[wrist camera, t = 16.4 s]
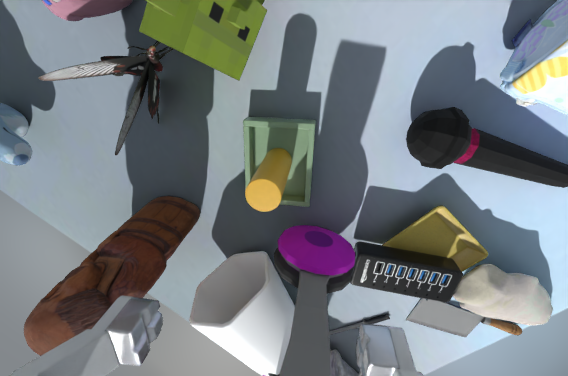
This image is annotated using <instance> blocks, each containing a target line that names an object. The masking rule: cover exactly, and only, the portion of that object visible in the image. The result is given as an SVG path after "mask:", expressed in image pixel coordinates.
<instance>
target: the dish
mask: <svg viewBox="0 0 568 376" xmlns="http://www.w3.org/2000/svg"><path fill="white" fill-rule="evenodd" d="M315 123H316V120H307V119H286V118H264V117H247V118H246V119H245V120H243V125H244V127H243V128H244V157H245V186H246V188H247V186H248V184H249V182H250V181H251V179H252V177H253V176H254V174H255V173H256V171H257V169H258V168H259V166H260V164H261V163H262V161H263V159H264V158H265V156H266V154H267V153H268V152H269V151H270V150H272V149H274V148H282V149H284V150H286V151H287V152H288V153H289V154H290V156H291V158H292V165H291V168H290V172H289V175H288V178H287V182H286V185H285V189H284V192H283V195H282V199H281V202H280V204H279V205H291V206H303V207H309V206H310V194H311V180H312V165H313V151H314V137H315ZM246 202H247V200H246Z"/></svg>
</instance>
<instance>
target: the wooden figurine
mask: <svg viewBox="0 0 568 376" xmlns="http://www.w3.org/2000/svg"><path fill="white" fill-rule="evenodd" d="M199 216H200V210H199V208H198V207H197V206H196V205H195V204H193V203H191V202H188V201H186V200H184V199H182V198H178V197H172V196H162V197H158V198H156V199H154V200H152V201H150V202H149V203H148V204H146V205H145V206H144V207H143V208H142V209H141V210H139V211H138V212H137V213H136V214H135V215H133V216H132V217H131V218H130V219H129V220H128V221H126V222H125V223H124V224H123V225H122V226H121V227H120V228H119V229H118V230H117V231H115V232H113V233H112V234H111V235H110V236H109V237H107V238H106V239H105V240H104V241H103V242H102V243H101V244H100V245H99V246H98V248H97V249H96V250H95V251H94V252H92V253H91V254H90V255H89V256H88V257H87V258H86V259H85V260H84V261H83V262H82V263H81V265H80V266H79V267H77V268H76V269H74V270H72V271H71V272H70V273H69V274H68V275H67V276H66V277H65V279H64V280H63V281H61V282H59V283H58V284H57V285H56V286H55V287H54V288H53V289H52V290H51V291H50V292H49V293H48V294H47V295H46V296H45V297H44V298H43V299H42V300H41V301H40V302H39V303H38V304H37V306H36V307H35V308H34V310H33V311H32V312H31V314H30V315H29V317H28V318H27V320H26V322H25V325H24V336H25V339H26V341H27V344H28V346H29V347H30V348H31V349H32V350H33V351H34V352H36V353H37V354H39V355H40V356H41V355H43V354H45V353H47V352H48V351H50V350H52V349H54V348H55V347H57V346H59V345H61V344H62V343H64V342H66V341H68V340H69V339H71V338H73V337H75V336H76V335H78V334H80V333H82V332H84V331H85V330H87V329H92V328H93V327H94V326H95V324H96V323H97V322H98V321H99V320H100V319H101V317H102V316H103V315H104V314H105V313H106V311H107V310H108V309H109V308H110V307H111V305H112V304H113V303H114V302H115V301H116V300H117V298H119V297H120V296H130V297H138V298H143V297H144V296H145V294H146V293H147V292H148V291H149V290H150V289H151V288H152V286H153V285H154V284H155V282H156V281H157V280H158V279H159V277H160V276H161V275H162V273H163V272H164V270H165V268H166V261H167V260H168V259H169V258H170V257H171V256H172V254H173V253H174V252H175V250H176V249H177V247H178V246H179V245H180V243H181V242H182V241H183V239H184V238H185V237H186V235H187V234H188V233H189V232H190V230H191V229H192V228H193V226H194V225H195V224H196V222H197V221H198V219H199Z"/></svg>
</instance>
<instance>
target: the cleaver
mask: <svg viewBox="0 0 568 376" xmlns="http://www.w3.org/2000/svg"><path fill="white" fill-rule="evenodd" d="M406 320H408V321H411V322H414V323H418V324H421V325H424V326H427V327H431V328H434V329H438V330H441V331H445V332H448V333H452V334H455V335H459V336H462V337H467V335H468V334H469V333H470V332H471V331H472V330H473V329H474V328H475V327H476V326H477V325H478V324H479V323H480V321H481V322H482V323H484V324H487V325H491V326H494V327H496V328H499V329H501V330H504V331H506V332H508V333H511V334H514V335H520V334H521V333H522V329H521V328H520V327H519V326H518V325H515V324H513V323H508V322H504V321H500V320H496V319H493V318H488V317H483V316H481V315H477V314H475V313H472V312H470V311H467V310H464V309H461V308H458V307H456V306H453V305H450V304H448V303H445V302H440V301H434V300H429V299H424V298H421V300H420V301H419V302H418V304H417V305H416V307H415V308H414V309H413V311H412V312H411V314H410V315H409V316H408V318H407V319H406Z"/></svg>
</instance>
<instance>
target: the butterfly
mask: <svg viewBox="0 0 568 376" xmlns="http://www.w3.org/2000/svg"><path fill="white" fill-rule="evenodd" d="M157 42H158V41H157ZM157 42H156V43H157ZM156 43H155V44H156ZM160 43H161V42H160ZM160 43H159V42H158V43H157V44H156V45H155V44H154V45H155V47H154V45H153V46H150V47H149V48H148V49H144V48H140V47H136V48H139V49H142V50H147V51H146V53H141V54H146V56H139V55H140V54H138V55H137V56H104V57H101V61H98V62H92V63H86V64H80V65H75V66H71V67H67V68H63V69H59V70H56V71H53V72H50V73H47V74H45V75H42V76H40V77H39V79H40V80H43V81H56V80H65V79H76V78H85V77H94V76H103V75H110V74H112V75H115V76H123V75H124V74H131V75H136V76H140V75H141V77H140V80H139V82H138V85H137V87H136V90H135V92H134V95H133V98H132V100H131V103H130V105H129V108H128V111H127V113H126V116H125V119H124V122H123V125H122V128H121V131H120V135H119V138H118V142H117V146H116V151H115V155H117V154H118V153H119V151H120V149H121V147H122V145H123V143H124V141H125V138H126V136H127V134H128V132H129V130H130V128H131V125H132V123H133V121H134V119H135V116H136V114H137V112H138V109H139V107H140V104H141V102H142V99H143V96H144V93H145V89H146V85H147V81H148V108H149V112H150V114H151V118H152V119H153V116H154V115H155V114H156V111H157V116H158V124H159V114H158V105H159V89H160V79H159V78H158V76H157V75H156V73H155V71H158V72H161V71H162V70H163V66H162V64H161V62H160V61H159V60H160V59H161V58H163V57H164V56H165V54H167V53H168V52H170V51H172V50H173V48H172V49H171V48H169V49H171V50H169V51H167V52H165V53H163V54H161V55H159V53H160V52H162V51H165V50H167V49H166V48H168V47H169V46H168V47H166V48H164V49H163V50H159V51H158V52H156V46H157V45H158V44H160ZM132 47H134V46H131V47H128V48H127V49H129V48H132ZM160 56H161V57H160ZM116 73H117V74H116Z"/></svg>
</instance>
